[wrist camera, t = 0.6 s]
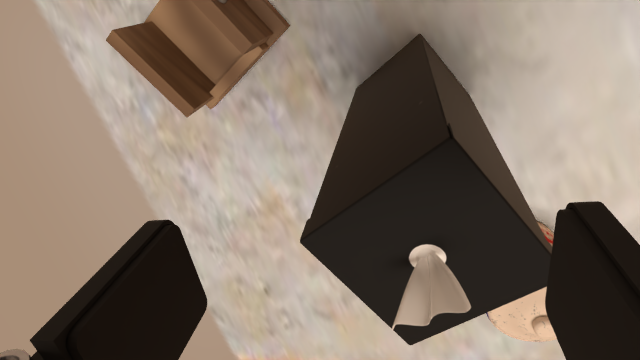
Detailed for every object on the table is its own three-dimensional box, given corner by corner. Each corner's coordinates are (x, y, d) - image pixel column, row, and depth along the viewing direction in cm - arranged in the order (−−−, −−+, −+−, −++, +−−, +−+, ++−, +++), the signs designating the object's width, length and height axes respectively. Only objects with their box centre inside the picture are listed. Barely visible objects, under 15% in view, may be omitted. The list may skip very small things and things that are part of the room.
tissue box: (354, 88, 38) (277, 297, 14) (420, 31, 35) (466, 180, 11) (404, 144, 40) (411, 413, 16) (471, 96, 37) (609, 347, 13)
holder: (210, -64, 34) (168, -70, 28) (290, 25, 37) (267, 38, 30) (142, 33, 39) (94, 46, 33) (215, 105, 42) (183, 130, 36)
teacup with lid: (575, 228, 41) (632, 313, 31) (532, 287, 46) (569, 377, 36) (466, 196, 42) (487, 269, 32) (434, 258, 46) (444, 338, 36)
